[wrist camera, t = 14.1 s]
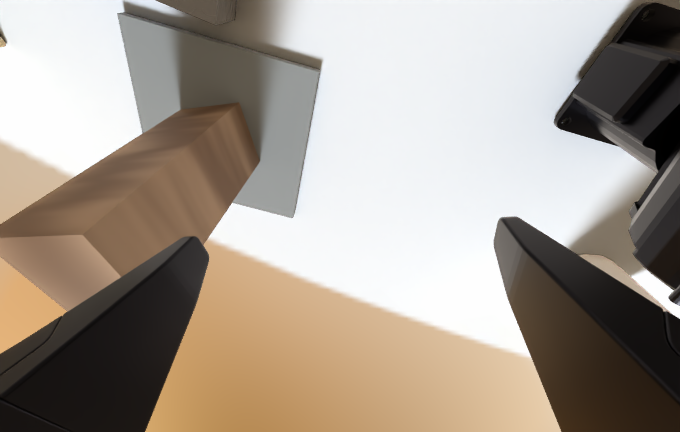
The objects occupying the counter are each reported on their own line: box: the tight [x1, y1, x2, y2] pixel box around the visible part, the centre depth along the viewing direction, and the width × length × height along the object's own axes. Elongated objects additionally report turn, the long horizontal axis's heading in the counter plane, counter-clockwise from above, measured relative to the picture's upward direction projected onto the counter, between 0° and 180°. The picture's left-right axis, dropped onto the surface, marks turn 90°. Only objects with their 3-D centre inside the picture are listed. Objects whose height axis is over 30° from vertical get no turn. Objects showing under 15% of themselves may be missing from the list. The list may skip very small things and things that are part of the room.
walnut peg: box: [0, 102, 260, 312], centre depth 16 cm, size 4×4×13 cm
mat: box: [117, 12, 320, 218], centre depth 21 cm, size 12×12×1 cm
